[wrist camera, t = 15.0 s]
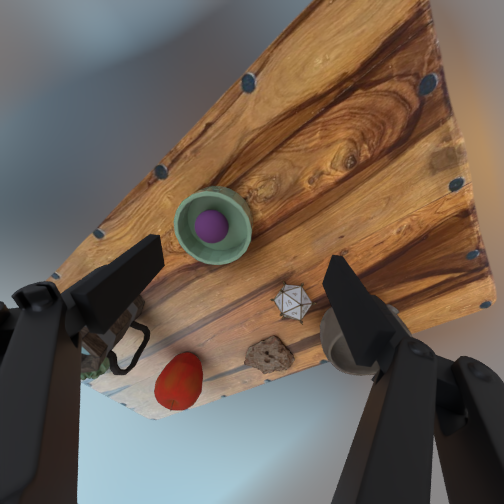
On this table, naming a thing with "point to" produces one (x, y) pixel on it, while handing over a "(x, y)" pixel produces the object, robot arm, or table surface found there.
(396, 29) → the table surface
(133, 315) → the mug
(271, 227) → the table surface
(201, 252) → the green bowl
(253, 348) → the rock
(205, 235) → the plum ball
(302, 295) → the game die
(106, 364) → the decorative artifact
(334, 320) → the bowl
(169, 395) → the apple
